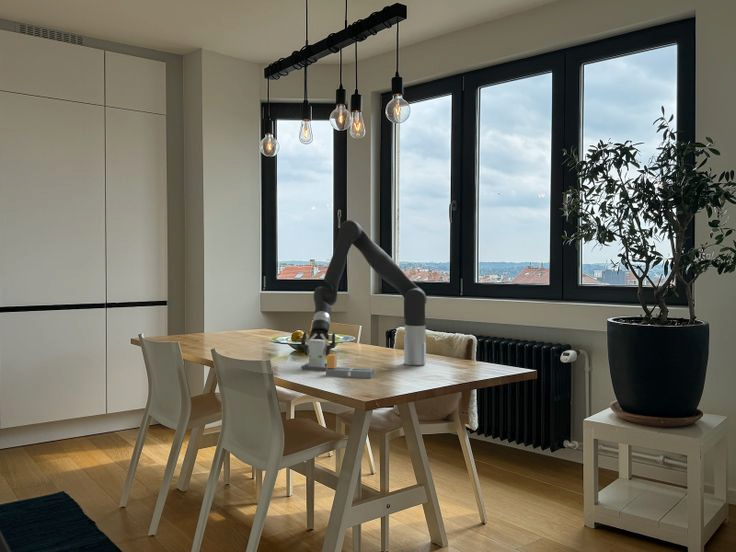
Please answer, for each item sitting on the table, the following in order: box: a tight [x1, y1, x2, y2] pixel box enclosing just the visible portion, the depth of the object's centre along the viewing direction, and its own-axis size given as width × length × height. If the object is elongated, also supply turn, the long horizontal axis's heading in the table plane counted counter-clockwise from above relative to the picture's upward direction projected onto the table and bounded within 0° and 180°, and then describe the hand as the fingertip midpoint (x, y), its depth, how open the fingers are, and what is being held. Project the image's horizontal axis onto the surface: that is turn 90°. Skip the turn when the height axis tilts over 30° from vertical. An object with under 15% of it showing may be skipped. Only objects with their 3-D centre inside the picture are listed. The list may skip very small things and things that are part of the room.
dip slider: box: [326, 353, 338, 368], centre depth 258 cm, size 3×4×5 cm
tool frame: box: [300, 362, 328, 372], centre depth 272 cm, size 11×11×2 cm
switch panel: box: [325, 366, 375, 379], centre depth 257 cm, size 18×7×3 cm, turn 78°
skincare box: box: [308, 339, 326, 367], centre depth 272 cm, size 6×4×12 cm
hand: (316, 354), depth 270 cm, fingers open, 8 cm apart
